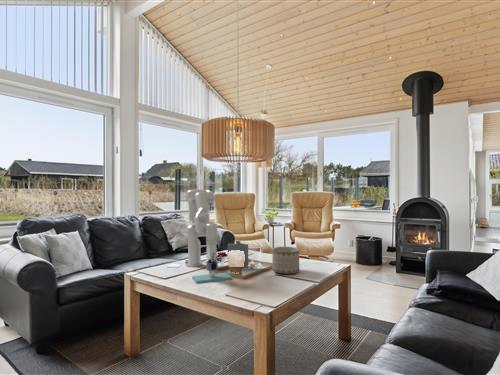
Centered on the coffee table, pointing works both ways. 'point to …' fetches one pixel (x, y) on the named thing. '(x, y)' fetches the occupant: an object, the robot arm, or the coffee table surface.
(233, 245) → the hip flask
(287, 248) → the planter
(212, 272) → the piston stand
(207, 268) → the gunmetal ring
